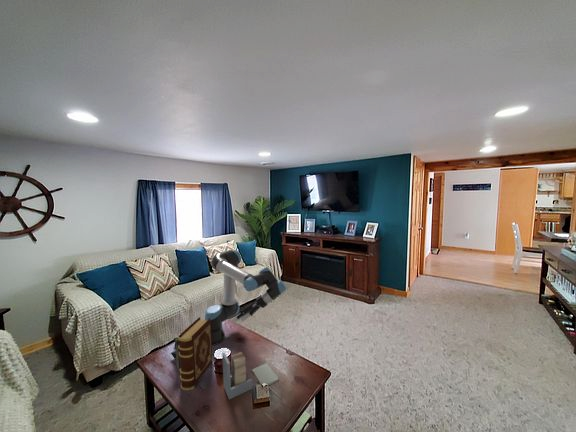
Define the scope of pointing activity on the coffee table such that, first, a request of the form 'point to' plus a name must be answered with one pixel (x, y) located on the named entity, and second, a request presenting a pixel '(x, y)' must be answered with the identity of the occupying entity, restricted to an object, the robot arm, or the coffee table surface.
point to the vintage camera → (176, 352)
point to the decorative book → (195, 352)
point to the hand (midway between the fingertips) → (237, 320)
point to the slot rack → (228, 381)
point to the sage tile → (265, 374)
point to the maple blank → (238, 369)
